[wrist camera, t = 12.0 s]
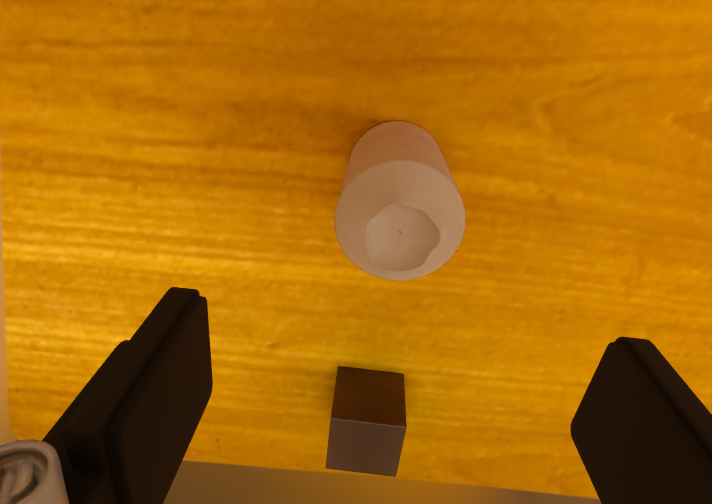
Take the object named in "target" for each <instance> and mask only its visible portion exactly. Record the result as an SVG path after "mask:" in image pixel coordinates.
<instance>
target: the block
mask: <svg viewBox="0 0 712 504" xmlns="http://www.w3.org/2000/svg"><path fill="white" fill-rule="evenodd" d="M405 432H406V408H405V388H404V374H397V373H389V372H380V371H372V370H364V369H355V368H347V367H338V370H337V377H336V384H335V392H334V399H333V406H332V413H331V421H330V430H329V440H328V449H327V459H326V468H327V469H336V470H344V471H352V472H360V473H369V474H377V475H385V476H394V477H396V473H397V469H398V464H399V460H400V455H401V450H402V446H403V441H404V436H405Z"/></svg>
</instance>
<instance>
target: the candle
mask: <svg viewBox="0 0 712 504" xmlns="http://www.w3.org/2000/svg"><path fill="white" fill-rule="evenodd" d="M465 222H466V220H465V209H464V205H463V202H462V199H461V196H460V194H459V191H458V189H457V187H456V184H455V182H454V180H453V177H452V175H451V173H450V170H449V168H448V166H447V164H446V161H445V159H444V157H443V154H442V152H441V150H440V148H439V146H438V144H437V142H436V141H435V140H434V138H433V137H432V136H431V135H430V134H429V133H428V132H427V131H426V130H424V129H423V128H421V127H419V126H417V125H415V124H412V123H409V122H404V121H390V122H385V123H382V124H379V125H377V126H375V127H373V128H371V129H370V130H368V131H367V132H366V133H365V134H364V135H363V136H362V137H361V138H360V139H359V140H358V142H357V143H356V145H355V147H354V148H353V151H352V153H351V156H350V159H349V163H348V167H347V170H346V174H345V178H344V181H343V185H342V189H341V193H340V196H339V200H338V204H337V208H336V212H335V231H336V236H337V239H338V242H339V244H340V246H341V248H342V250H343V251H344V253H345V254H346V256H347V257H348V258H349V259H350V260H351V261H352V262H353V263H354V264H355V265H356V266H357V267H359V268H360V269H362V270H363V271H365V272H367V273H369V274H371V275H373V276H376V277H379V278H383V279H388V280H410V279H415V278H419V277H422V276H425V275H427V274H429V273H432V272H433V271H435V270H437V269H438V268H440V267H441V266H442V265H444V264H445V263H446V262H447V261H448V260H449V259H450V258H451V257H452V255H453V254H454V253H455V251H456V250H457V248H458V246H459V245H460V242H461V240H462V238H463V234H464V230H465Z"/></svg>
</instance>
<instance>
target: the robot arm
mask: <svg viewBox="0 0 712 504" xmlns="http://www.w3.org/2000/svg"><path fill="white" fill-rule="evenodd" d="M212 385H213V381H212V367H211V353H210V338H209V324H208V309H207V300H206V297H202V296H200V295H199V292H198V290H196V289H187V288H178V287H171V288H170V289H169V290H168V291H167V292H166V294H165V295H164V296H163V297H162V299H161V300H160V301H159V303H158V304H157V305H156V307H155V308H154V309H153V310H152V312H151V313H150V314H149V316H148V317H147V318H146V320H145V321H144V322H143V324H142V325H141V326H140V327H139V329H138V330H137V331H136V333H135V334H134V335H133V337H132V338H131V339H130V340H125V341H123V342H121V343H120V344H119V345H118V346H117V347H116V348H115V349H114V350H113V352H112V353H111V354H110V355H109V357H108V358H107V359H106V360H105V362H104V363H103V364H102V366H101V367H100V368H99V369H98V371H97V372H96V373H95V374H94V376H93V377H92V378H91V379H90V381H89V382H88V383H87V384H86V386H85V387H84V388H83V390H82V391H81V392H80V393H79V395H78V396H77V397H76V398H75V400H74V401H73V402H72V403H71V405H70V406H69V407H68V408H67V410H66V411H65V412H64V413H63V415H62V416H61V417H60V419H59V420H58V421H57V422H56V424H55V425H54V426H53V427H52V429H51V430H50V431H49V432H48V434H47V435H46V436H45V437H44V439H43V440H42V441H38V440H33V439H32V440H18V441H14V442H11V443H7V444H4V445H1V446H0V504H163V502H164V500H165V498H166V495H167V493H168V491H169V489H170V487H171V484H172V482H173V480H174V477H175V475H176V473H177V471H178V468H179V466H180V464H181V462H182V460H183V457H184V455H185V453H186V451H187V448H188V446H189V444H190V442H191V439H192V437H193V435H194V433H195V430H196V428H197V426H198V424H199V421H200V419H201V417H202V415H203V412H204V410H205V408H206V405H207V403H208V401H209V399H210V396H211V392H212ZM571 436H572V439H573V441H574V444H575V446H576V448H577V450H578V452H579V455H580V457H581V459H582V461H583V463H584V466H585V468H586V470H587V472H588V474H589V477H590V479H591V481H592V483H593V486H594V488H595V490H596V492H597V494H598V497H599V499H600V501H601V503H602V504H712V414H711V413H710V412H709V411H708V410H707V408H706V407H705V406H704V405H703V404H702V402H701V401H700V400H699V399H698V398H697V396H696V395H695V394H694V393H693V392H692V390H691V389H690V388H689V387H688V385H687V384H686V383H685V382H684V381H683V379H682V378H681V377H680V376H679V375H678V373H677V372H676V371H675V370H674V369H673V367H672V366H671V365H670V364H669V363H668V361H667V360H666V359H665V358H664V356H663V355H662V354H661V353H660V352H659V350H658V349H657V348H656V347H655V346H654V344H653V343H652V342H650V341H649V340H646V339H639V338H629V337H619V338H618V339H616V341H615V342H611V343H610V344H609V345H608V346H607V348H606V350H605V352H604V354H603V356H602V358H601V361H600V363H599V365H598V367H597V369H596V371H595V373H594V375H593V378H592V380H591V382H590V384H589V386H588V388H587V390H586V392H585V395H584V397H583V399H582V401H581V403H580V405H579V407H578V409H577V412H576V414H575V416H574V418H573V420H572V423H571Z"/></svg>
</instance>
